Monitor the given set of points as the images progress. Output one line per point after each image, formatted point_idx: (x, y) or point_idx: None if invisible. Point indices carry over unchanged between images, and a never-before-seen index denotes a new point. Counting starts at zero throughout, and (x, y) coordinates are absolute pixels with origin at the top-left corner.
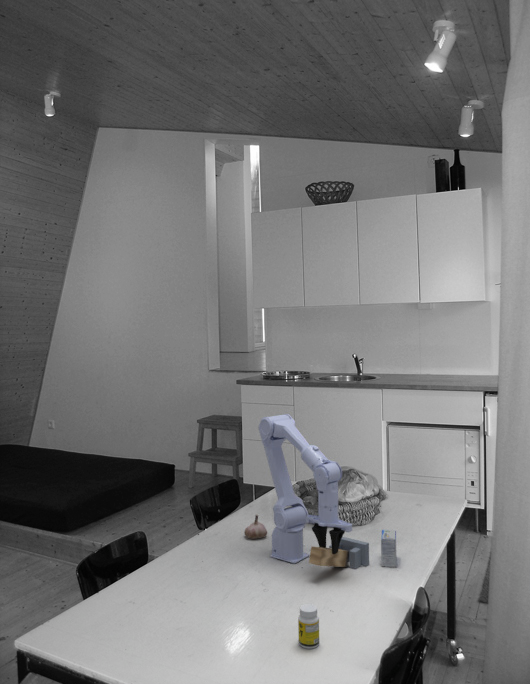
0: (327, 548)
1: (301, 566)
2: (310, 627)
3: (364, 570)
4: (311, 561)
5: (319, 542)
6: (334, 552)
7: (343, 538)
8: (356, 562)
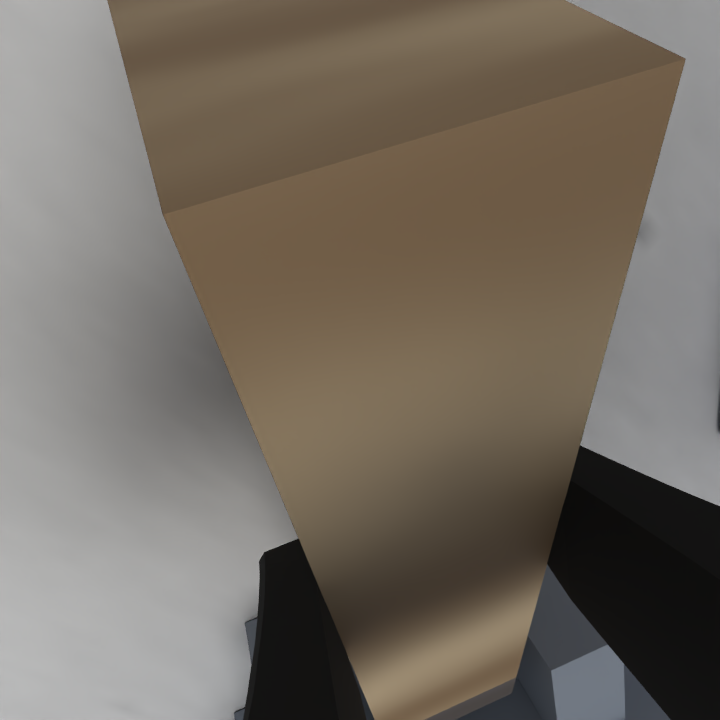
0: (473, 559)
1: (654, 236)
2: None
3: (170, 674)
4: None
5: (678, 522)
6: (259, 585)
7: None
8: None
